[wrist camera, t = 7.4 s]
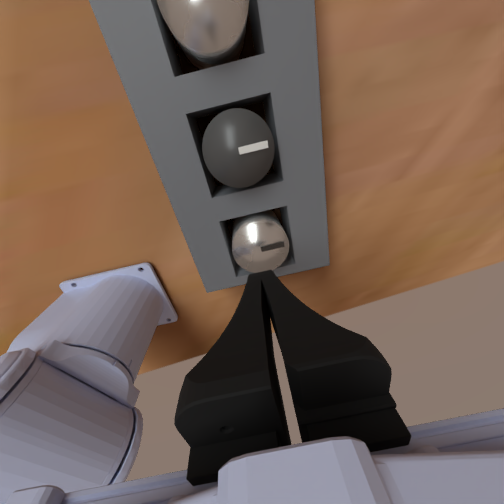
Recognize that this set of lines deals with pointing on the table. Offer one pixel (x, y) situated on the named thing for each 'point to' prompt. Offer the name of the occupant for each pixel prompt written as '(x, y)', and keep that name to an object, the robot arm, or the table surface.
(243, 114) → the knob middle
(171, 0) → the knob
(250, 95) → the control panel
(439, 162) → the table surface
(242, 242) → the knob
